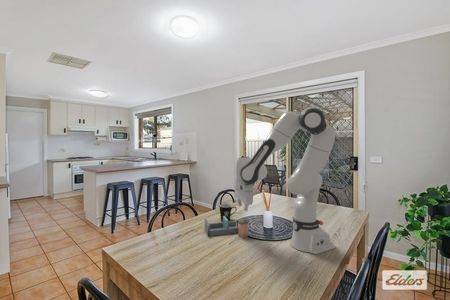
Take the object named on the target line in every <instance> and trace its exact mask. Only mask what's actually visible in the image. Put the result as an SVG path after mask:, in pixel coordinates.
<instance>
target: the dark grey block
mask: <svg viewBox="0 0 450 300" xmlns="http://www.w3.org/2000/svg"><path fill="white" fill-rule="evenodd" d="M204 230H205V232H206V234H207V237H212V236H213V237H214V236H221V235H230V234H238V226H237V223H236V220H233V221H232V220H229V221H228V228H225V229H224V228H223V221H221V222H211V223H209V221H208V219H207V218H205V219H204Z"/></svg>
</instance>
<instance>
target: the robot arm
mask: <svg viewBox="0 0 450 300" xmlns="http://www.w3.org/2000/svg"><path fill="white" fill-rule="evenodd" d="M326 121H327V120H326V116H325V114H324V112H323V111H322V110H321V109H320V108H318V107H315V106H311V107H307V108H305V109H304V110H301V111H300V112H298V113H296V112H294V111H290V110H289V111H285V112H283V114H281V116H280V117H279V118H278V120H277V121H276V122H275V123H274V125H273V127H272V129H271V130H270V132H269V133H268V134H267V137H266V138H265V140H264V141H263V143H262V144H261V145H260V146H259V148H258V149H257V151H256V152H255V154H254V155H253V156H252V158H251V157H250V156H241V157H237V159H236V162H235V186H234V197H235V198H237V205H238V206H239V207H242V203H243V205H244V207H243V211H244V212H248V211H249V210H248V209H249V206H250V205H251V206H252V205H253V203H254V191H255V186H254V184H255V183H257V182H259V181H262V180H264V179H266V177H267V176H268V168H267V166H266V165H265V163H266V162H267V160H268V159H269V157H270V156H271V155H273V154H275V153H276V152H278V151H280V150H282V149H284V148H285V147H286V146H287V145H288V144H289V143H290V142H291V140H292V139H293V138H294V136H295V135H296V132H298V130H300V129H304V130H305V131H307V132H308V133H310V139H309V140H308V143H307V146H306V149H305V151H304V154H303V156H302V158H301V160H300V161H299V163H298V165H297V166H296V167H295V169H294V170H293V172H292V174H291V175H290V176H289V177H288V179H287V180H286V181H287V182H286V187H287V189H288V191H289V192H290V193H291V194H293V195H296V197H295V200H294V202H293V217H292V229H293V230H292V236H291V240H290V246H291V247H292V248H294V249H295V250H298V251H301V252H304V253H305V252H306V253H309V254H314V255H318V254H322V253H324V252H328V251H330V250H333V249H336V245H335V243H334V242H332V240H331V237H330V234H329V233H328V232H327V230H324V229H323V228H322V227H321V226H323V225H324V221H322V220H319V219H317V207H318V206H317V204H318V199H319V195H320V190H321V186H322V184H323V177H322V175H321V174H320V173H321V171H322V170H323V169H324V168H325V167H326V165H327V161H328V159H329V157H330V155H331V153H332V150H333V147H334V144H335V139H336V136H337V135H336V134H337V133H336V130H335V129H333V127H331V126H328V125H327V123H326Z"/></svg>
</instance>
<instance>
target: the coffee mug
mask: <svg viewBox="0 0 450 300" xmlns="http://www.w3.org/2000/svg"><path fill="white" fill-rule="evenodd" d="M234 208H235V210H234V211H233V212H232V209H234ZM231 212H232V213H231ZM236 212H237V207H236V206H232V204H230V203H221V204H219V214H220V221H221V222H223V216H225V217H226V218H227V220H228V222H230V221H231V216H232V215H233V214H235V213H236Z"/></svg>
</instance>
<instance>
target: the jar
mask: <svg viewBox="0 0 450 300" xmlns="http://www.w3.org/2000/svg"><path fill="white" fill-rule="evenodd" d="M249 221H250V220H249V219H248V218H244V217H243V218H238V219H237V227H238V233H237V237H239V238H242V239H245V238H248V237H249V223H250V222H249Z"/></svg>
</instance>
